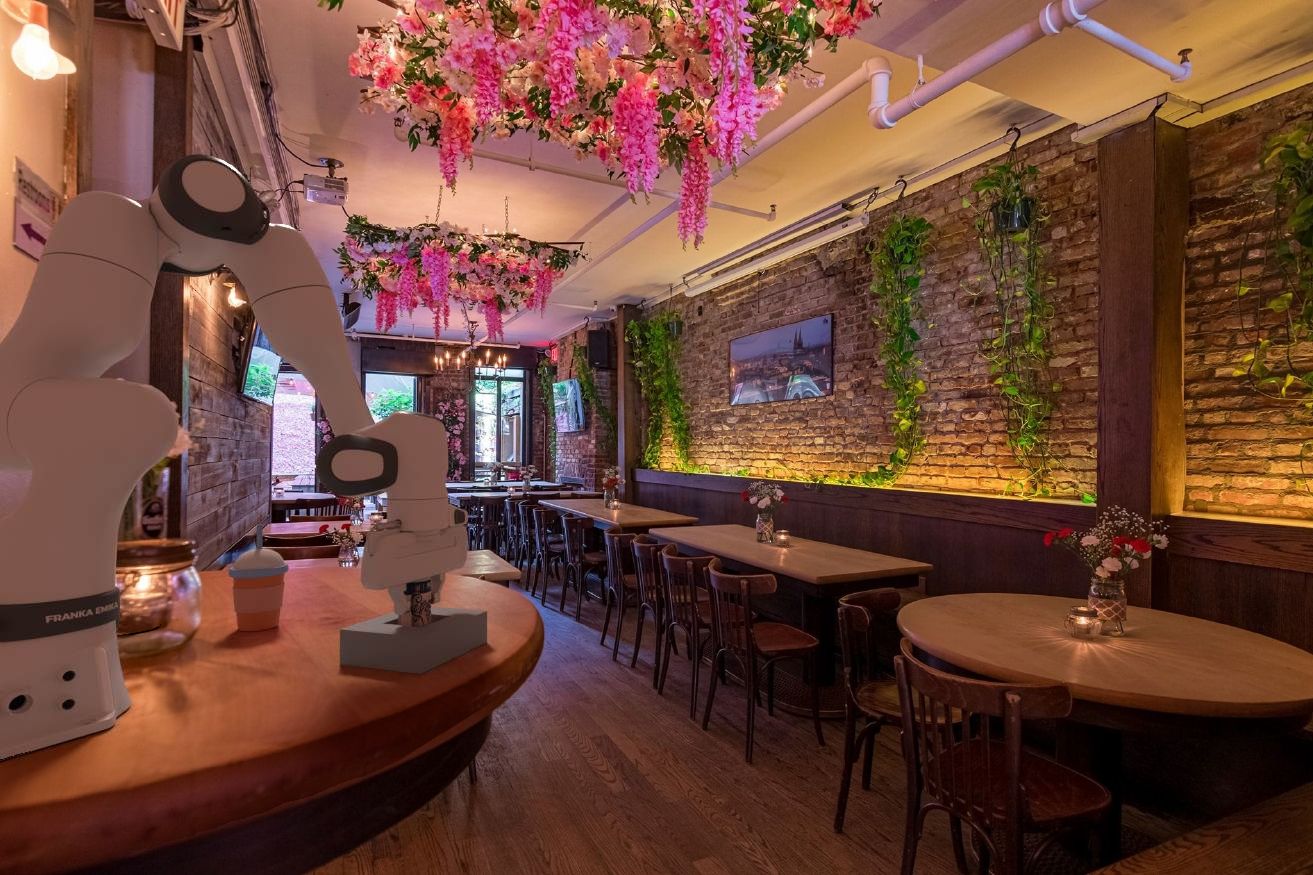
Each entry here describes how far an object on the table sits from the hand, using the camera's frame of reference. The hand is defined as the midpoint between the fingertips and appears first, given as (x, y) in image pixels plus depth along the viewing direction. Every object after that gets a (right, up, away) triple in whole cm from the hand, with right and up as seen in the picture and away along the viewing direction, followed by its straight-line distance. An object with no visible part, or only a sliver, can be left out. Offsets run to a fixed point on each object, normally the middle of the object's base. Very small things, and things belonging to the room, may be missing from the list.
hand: (418, 608), depth 100 cm
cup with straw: (-34, -8, +16) cm, 38 cm away
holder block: (0, -7, 0) cm, 7 cm away
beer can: (-1, -7, 0) cm, 7 cm away
